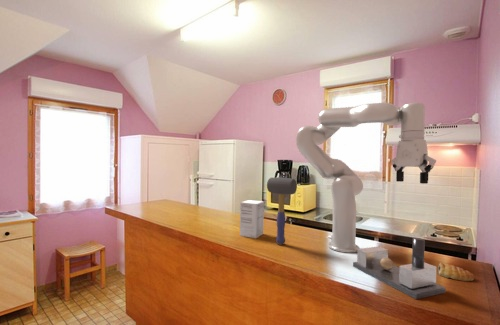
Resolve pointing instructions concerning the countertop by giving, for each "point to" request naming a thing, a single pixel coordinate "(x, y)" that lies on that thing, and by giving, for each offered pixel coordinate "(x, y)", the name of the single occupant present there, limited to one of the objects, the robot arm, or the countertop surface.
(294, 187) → the rubber mallet
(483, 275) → the countertop surface
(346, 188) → the robot arm
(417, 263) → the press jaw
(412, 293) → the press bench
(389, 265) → the tan wooden ball
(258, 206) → the supplement box
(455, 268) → the pastry
